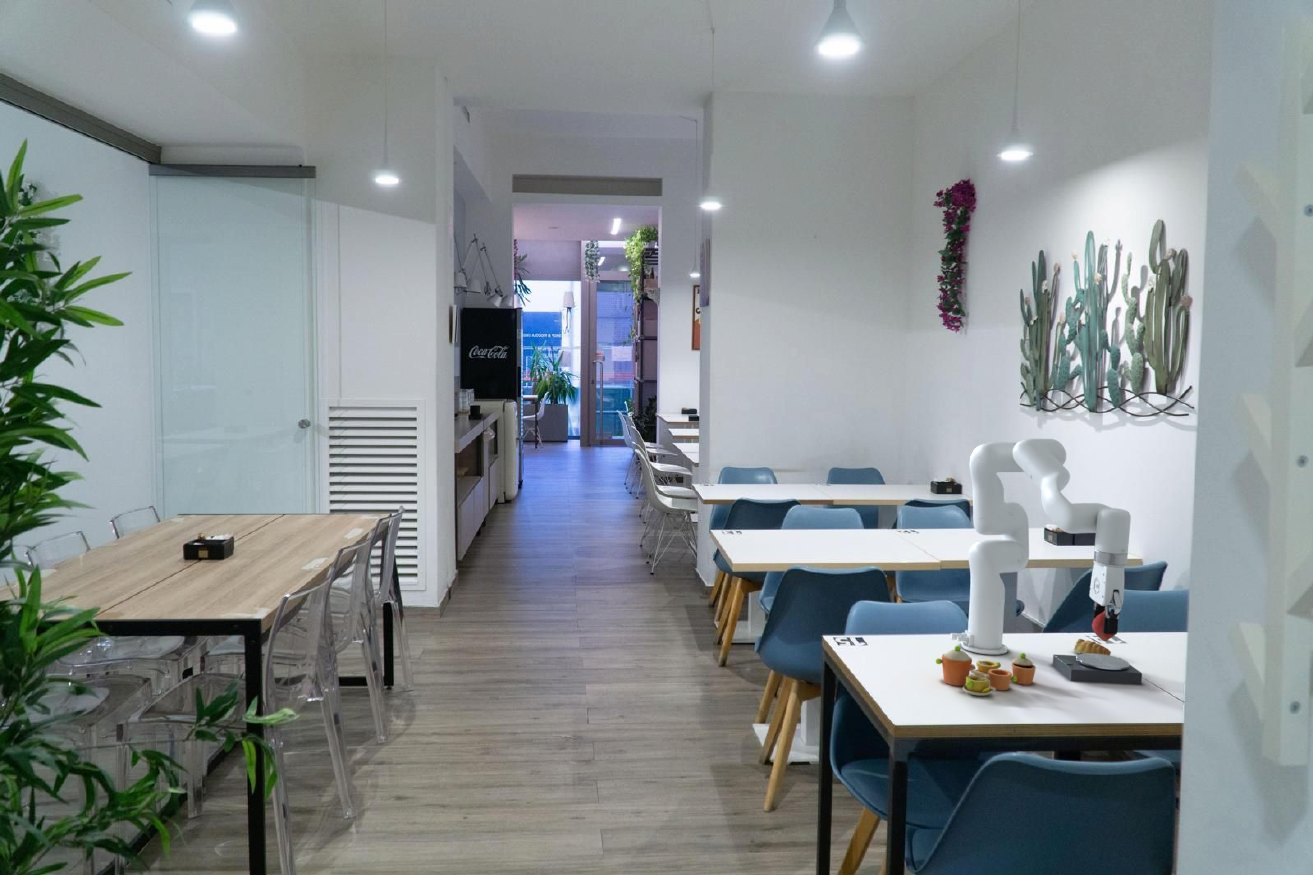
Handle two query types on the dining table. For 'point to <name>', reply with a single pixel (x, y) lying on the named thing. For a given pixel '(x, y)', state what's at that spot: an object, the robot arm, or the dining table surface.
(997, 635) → the robot arm
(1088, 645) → the pastry
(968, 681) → the toy tea set
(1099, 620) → the onion
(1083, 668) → the scale
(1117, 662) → the scale pan
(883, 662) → the dining table surface
